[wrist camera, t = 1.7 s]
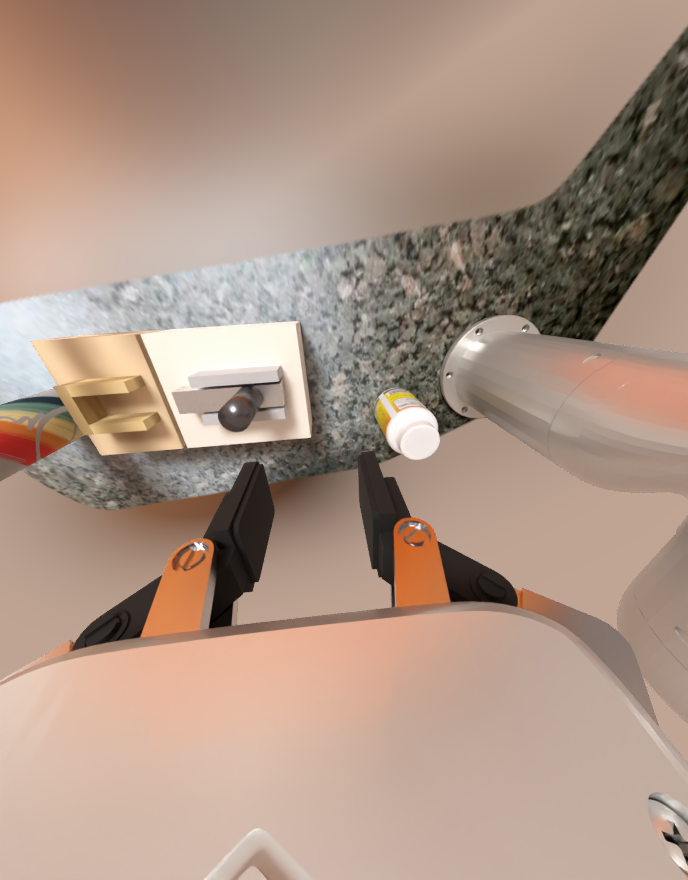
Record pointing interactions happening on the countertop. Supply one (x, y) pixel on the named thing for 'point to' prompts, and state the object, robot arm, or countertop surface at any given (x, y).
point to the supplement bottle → (406, 424)
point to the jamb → (112, 391)
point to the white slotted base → (235, 377)
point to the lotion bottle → (33, 430)
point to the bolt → (231, 401)
